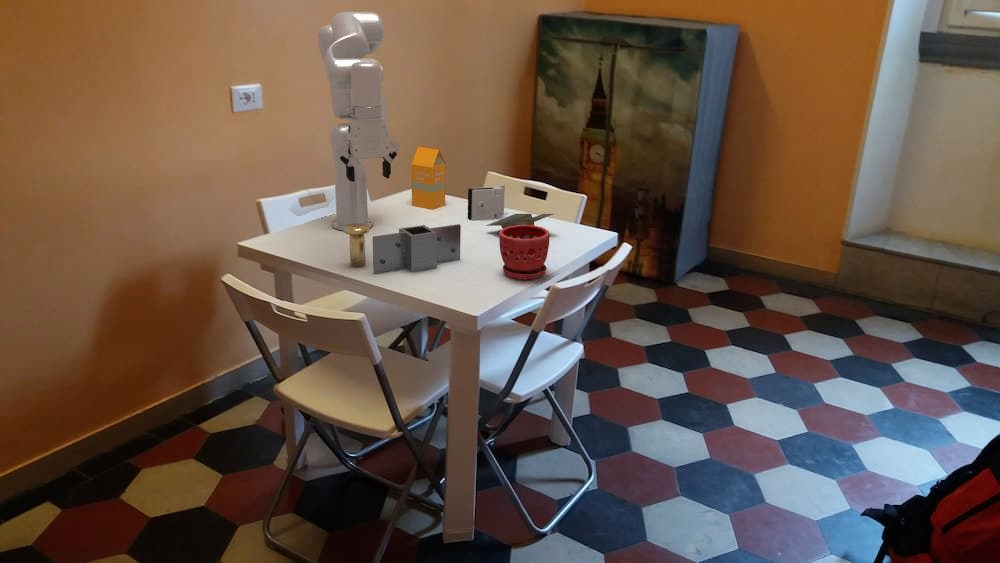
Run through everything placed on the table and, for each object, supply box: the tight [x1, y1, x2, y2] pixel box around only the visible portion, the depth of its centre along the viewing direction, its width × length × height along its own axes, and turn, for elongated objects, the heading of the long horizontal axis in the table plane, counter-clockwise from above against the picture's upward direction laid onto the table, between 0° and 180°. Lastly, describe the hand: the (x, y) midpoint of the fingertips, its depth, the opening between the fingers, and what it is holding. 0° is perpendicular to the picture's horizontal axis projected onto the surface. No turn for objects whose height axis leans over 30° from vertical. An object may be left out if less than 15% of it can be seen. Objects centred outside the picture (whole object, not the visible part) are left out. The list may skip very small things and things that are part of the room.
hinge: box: [467, 184, 506, 222], centre depth 255 cm, size 14×5×10 cm, turn 119°
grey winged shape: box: [485, 213, 555, 237], centre depth 238 cm, size 16×9×15 cm
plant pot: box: [498, 225, 550, 281], centre depth 206 cm, size 13×13×12 cm
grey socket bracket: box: [372, 223, 462, 275], centre depth 209 cm, size 8×26×10 cm, turn 122°
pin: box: [343, 223, 370, 268], centre depth 209 cm, size 7×7×11 cm
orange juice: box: [410, 145, 447, 211], centre depth 264 cm, size 8×9×20 cm
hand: (368, 179), depth 204 cm, fingers open, 9 cm apart
